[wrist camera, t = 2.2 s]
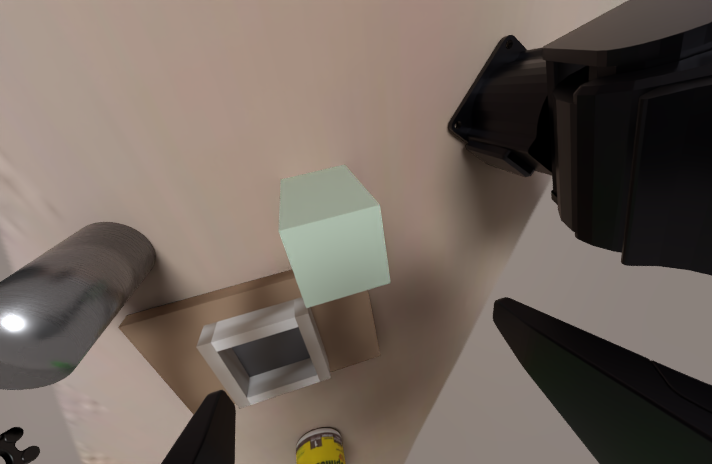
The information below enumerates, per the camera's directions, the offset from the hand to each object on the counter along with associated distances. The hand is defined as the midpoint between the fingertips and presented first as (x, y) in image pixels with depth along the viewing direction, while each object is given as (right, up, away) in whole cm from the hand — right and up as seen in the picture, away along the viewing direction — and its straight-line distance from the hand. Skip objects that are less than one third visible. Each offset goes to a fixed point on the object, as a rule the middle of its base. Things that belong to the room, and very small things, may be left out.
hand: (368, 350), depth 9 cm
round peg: (-16, +2, +9) cm, 19 cm away
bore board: (-8, -5, +15) cm, 18 cm away
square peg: (-3, +6, +11) cm, 13 cm away
